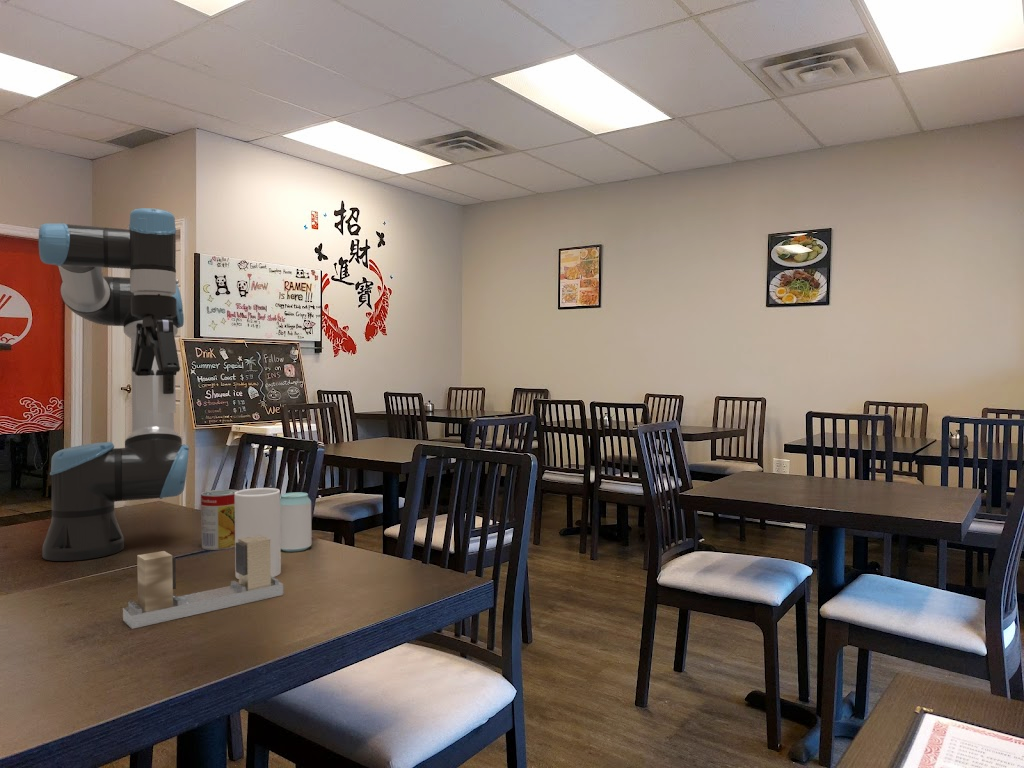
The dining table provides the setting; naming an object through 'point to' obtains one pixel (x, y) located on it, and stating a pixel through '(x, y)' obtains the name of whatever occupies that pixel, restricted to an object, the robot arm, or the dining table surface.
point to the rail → (251, 587)
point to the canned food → (218, 519)
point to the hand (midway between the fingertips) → (155, 411)
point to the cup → (259, 520)
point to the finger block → (156, 580)
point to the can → (295, 522)
